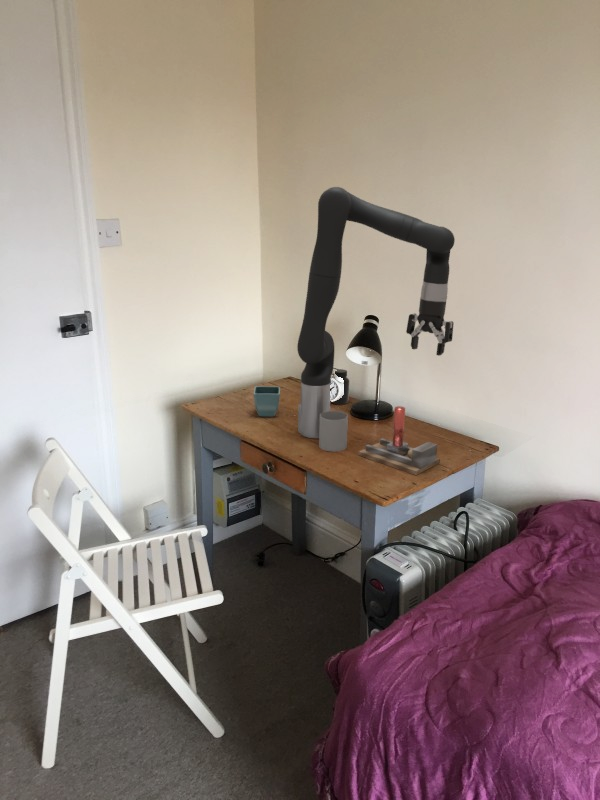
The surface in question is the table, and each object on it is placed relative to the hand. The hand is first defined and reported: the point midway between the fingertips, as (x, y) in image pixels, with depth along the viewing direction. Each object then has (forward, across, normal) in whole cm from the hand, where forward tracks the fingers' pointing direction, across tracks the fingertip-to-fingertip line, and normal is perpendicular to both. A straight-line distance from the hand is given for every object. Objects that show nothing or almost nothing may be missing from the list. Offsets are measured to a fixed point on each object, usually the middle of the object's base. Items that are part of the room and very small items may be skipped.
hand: (426, 352), depth 194 cm
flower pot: (+31, -51, -14) cm, 61 cm away
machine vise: (+29, +4, -16) cm, 33 cm away
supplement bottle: (+30, -41, +13) cm, 53 cm away
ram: (+27, +4, -16) cm, 32 cm away
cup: (+30, -16, -21) cm, 40 cm away
